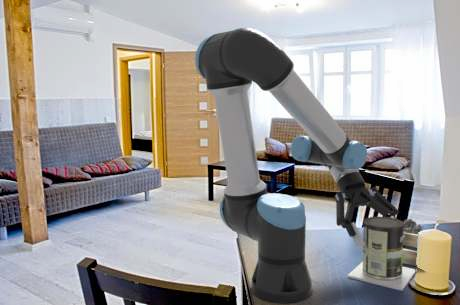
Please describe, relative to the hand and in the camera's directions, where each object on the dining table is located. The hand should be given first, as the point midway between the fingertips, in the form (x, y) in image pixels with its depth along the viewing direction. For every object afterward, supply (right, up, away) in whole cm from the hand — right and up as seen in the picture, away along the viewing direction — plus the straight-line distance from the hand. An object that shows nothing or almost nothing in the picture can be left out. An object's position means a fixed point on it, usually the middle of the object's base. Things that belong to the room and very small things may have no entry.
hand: (381, 242), depth 116 cm
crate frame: (+11, -6, +15) cm, 20 cm away
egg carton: (+20, -4, +33) cm, 39 cm away
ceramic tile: (0, -8, 0) cm, 9 cm away
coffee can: (0, -8, 0) cm, 8 cm away
